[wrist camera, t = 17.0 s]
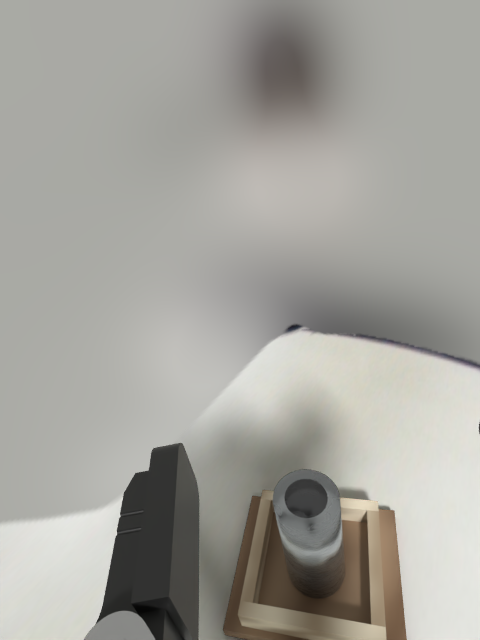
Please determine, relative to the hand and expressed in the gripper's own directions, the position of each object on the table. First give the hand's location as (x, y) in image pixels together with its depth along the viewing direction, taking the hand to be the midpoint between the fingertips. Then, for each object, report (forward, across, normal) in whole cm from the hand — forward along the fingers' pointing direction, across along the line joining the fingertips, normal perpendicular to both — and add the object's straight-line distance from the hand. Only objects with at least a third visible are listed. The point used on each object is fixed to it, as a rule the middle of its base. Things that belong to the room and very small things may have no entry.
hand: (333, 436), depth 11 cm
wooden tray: (+11, 0, +30) cm, 32 cm away
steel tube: (+11, 0, +29) cm, 31 cm away
